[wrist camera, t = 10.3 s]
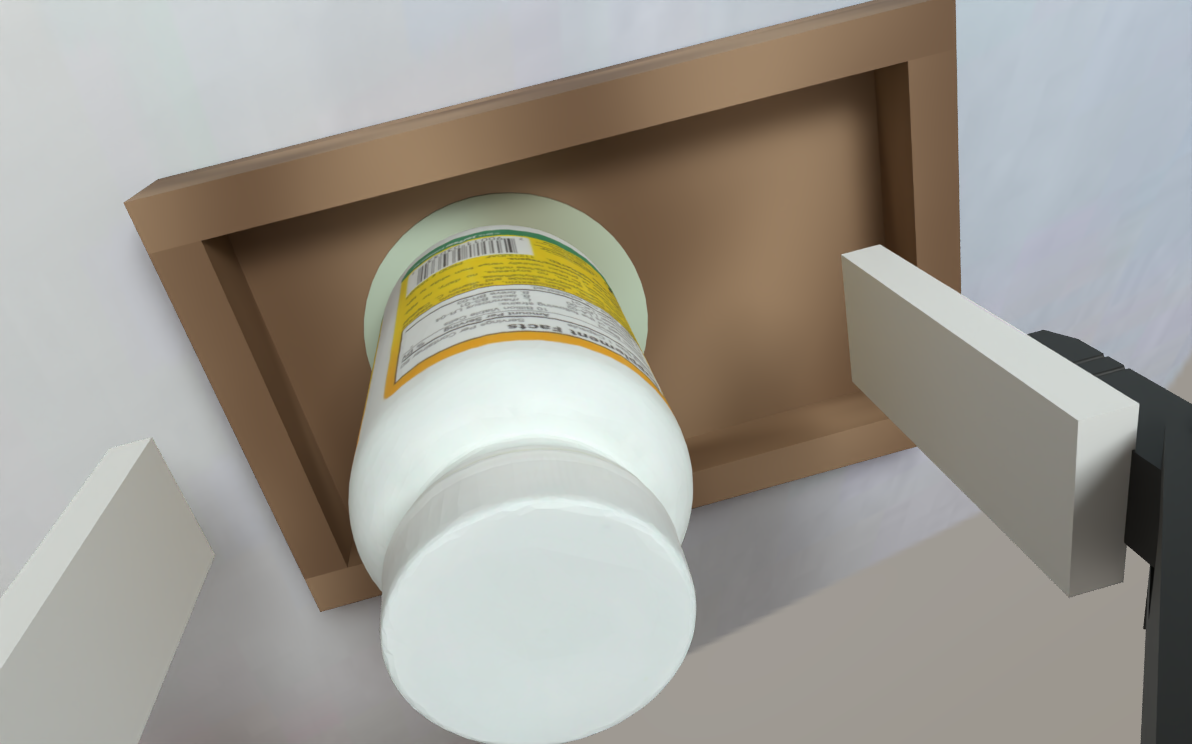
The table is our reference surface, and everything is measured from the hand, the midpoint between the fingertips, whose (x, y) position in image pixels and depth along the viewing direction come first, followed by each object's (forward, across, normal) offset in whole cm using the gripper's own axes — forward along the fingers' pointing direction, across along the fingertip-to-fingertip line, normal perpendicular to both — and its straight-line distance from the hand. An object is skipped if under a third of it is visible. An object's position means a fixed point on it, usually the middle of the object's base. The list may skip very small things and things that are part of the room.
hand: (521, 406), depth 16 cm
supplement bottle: (+4, 0, 0) cm, 4 cm away
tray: (+4, +2, 0) cm, 5 cm away
